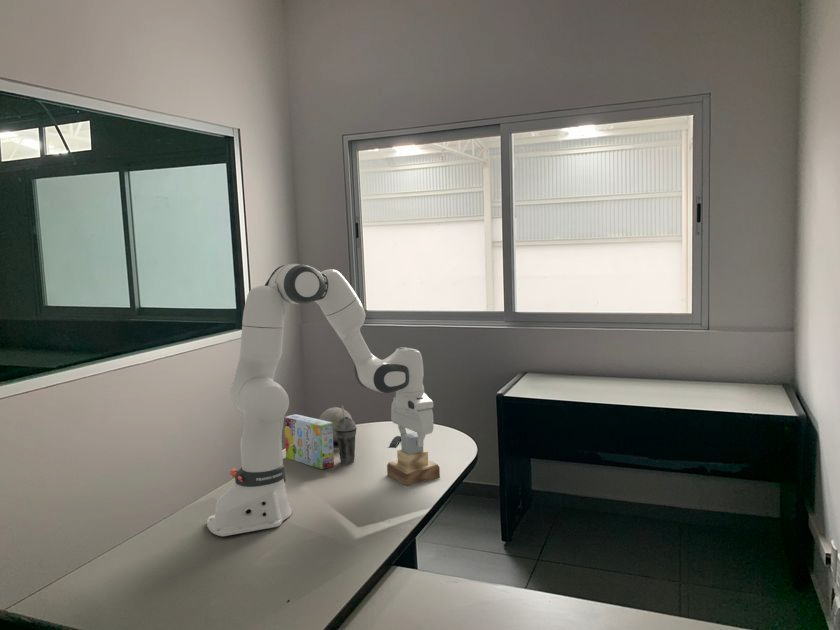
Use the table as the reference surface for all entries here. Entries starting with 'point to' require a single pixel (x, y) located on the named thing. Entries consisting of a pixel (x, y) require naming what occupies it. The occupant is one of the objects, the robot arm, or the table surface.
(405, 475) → the plinth
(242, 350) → the robot arm
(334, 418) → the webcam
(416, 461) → the oak block
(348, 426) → the beverage cup
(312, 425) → the snack box
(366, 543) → the table surface
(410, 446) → the grey cube
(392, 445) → the black long flat piece
